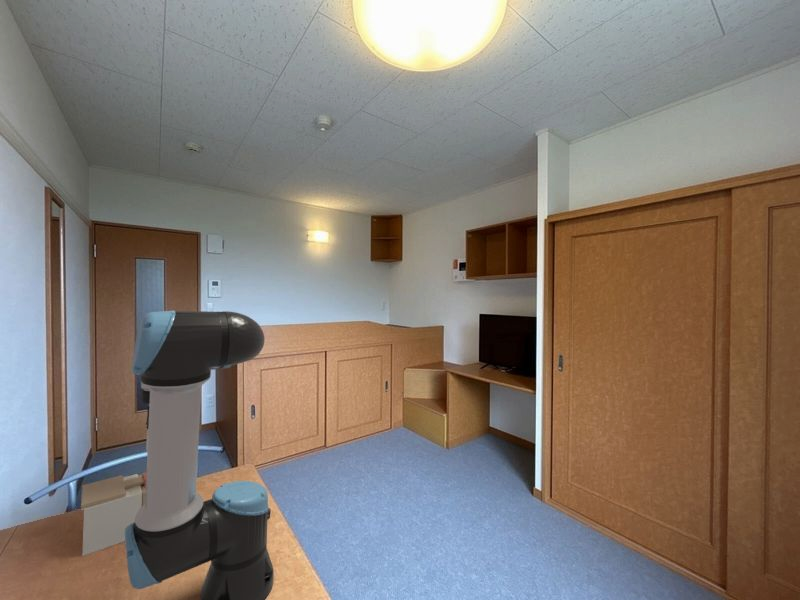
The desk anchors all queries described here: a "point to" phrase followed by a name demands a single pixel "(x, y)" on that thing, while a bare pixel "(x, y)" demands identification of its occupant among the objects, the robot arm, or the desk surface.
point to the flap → (108, 489)
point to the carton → (111, 519)
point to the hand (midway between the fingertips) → (154, 457)
